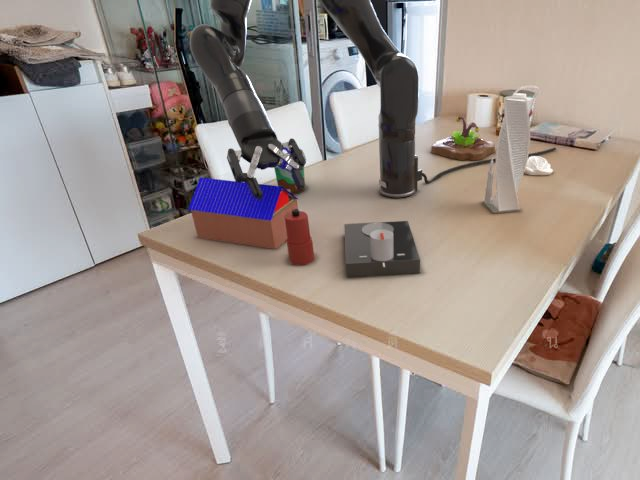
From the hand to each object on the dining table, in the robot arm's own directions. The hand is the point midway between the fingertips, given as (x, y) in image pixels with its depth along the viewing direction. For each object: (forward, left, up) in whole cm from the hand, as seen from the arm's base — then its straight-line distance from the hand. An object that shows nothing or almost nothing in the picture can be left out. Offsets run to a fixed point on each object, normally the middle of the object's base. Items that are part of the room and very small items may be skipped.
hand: (281, 193), depth 90 cm
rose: (-82, -3, -13) cm, 83 cm away
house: (+3, -13, -13) cm, 19 cm away
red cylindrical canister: (0, +5, -12) cm, 13 cm away
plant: (-79, -32, -13) cm, 86 cm away
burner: (-17, +9, -9) cm, 21 cm away
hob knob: (-11, +19, -9) cm, 23 cm away
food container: (-17, -32, -13) cm, 38 cm away
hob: (-14, +14, -12) cm, 23 cm away
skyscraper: (-53, +11, -13) cm, 56 cm away
